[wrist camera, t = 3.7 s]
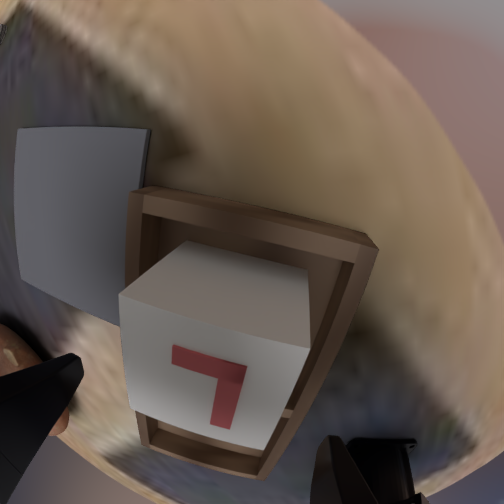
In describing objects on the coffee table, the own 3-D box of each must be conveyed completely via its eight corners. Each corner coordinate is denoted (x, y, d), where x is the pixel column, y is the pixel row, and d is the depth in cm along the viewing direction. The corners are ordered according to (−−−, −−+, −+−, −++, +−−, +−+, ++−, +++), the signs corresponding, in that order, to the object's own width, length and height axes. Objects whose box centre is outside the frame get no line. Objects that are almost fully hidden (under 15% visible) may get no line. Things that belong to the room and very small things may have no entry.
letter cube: (307, 269, 13) (310, 350, 8) (277, 364, 15) (263, 452, 10) (186, 240, 14) (116, 295, 8) (177, 336, 16) (129, 409, 10)
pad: (150, 129, 13) (146, 129, 12) (136, 329, 17) (133, 332, 16) (21, 128, 14) (18, 128, 13) (24, 277, 18) (21, 279, 17)
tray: (365, 233, 13) (378, 249, 10) (268, 459, 20) (264, 480, 17) (154, 185, 14) (129, 191, 11) (151, 425, 20) (141, 444, 18)
